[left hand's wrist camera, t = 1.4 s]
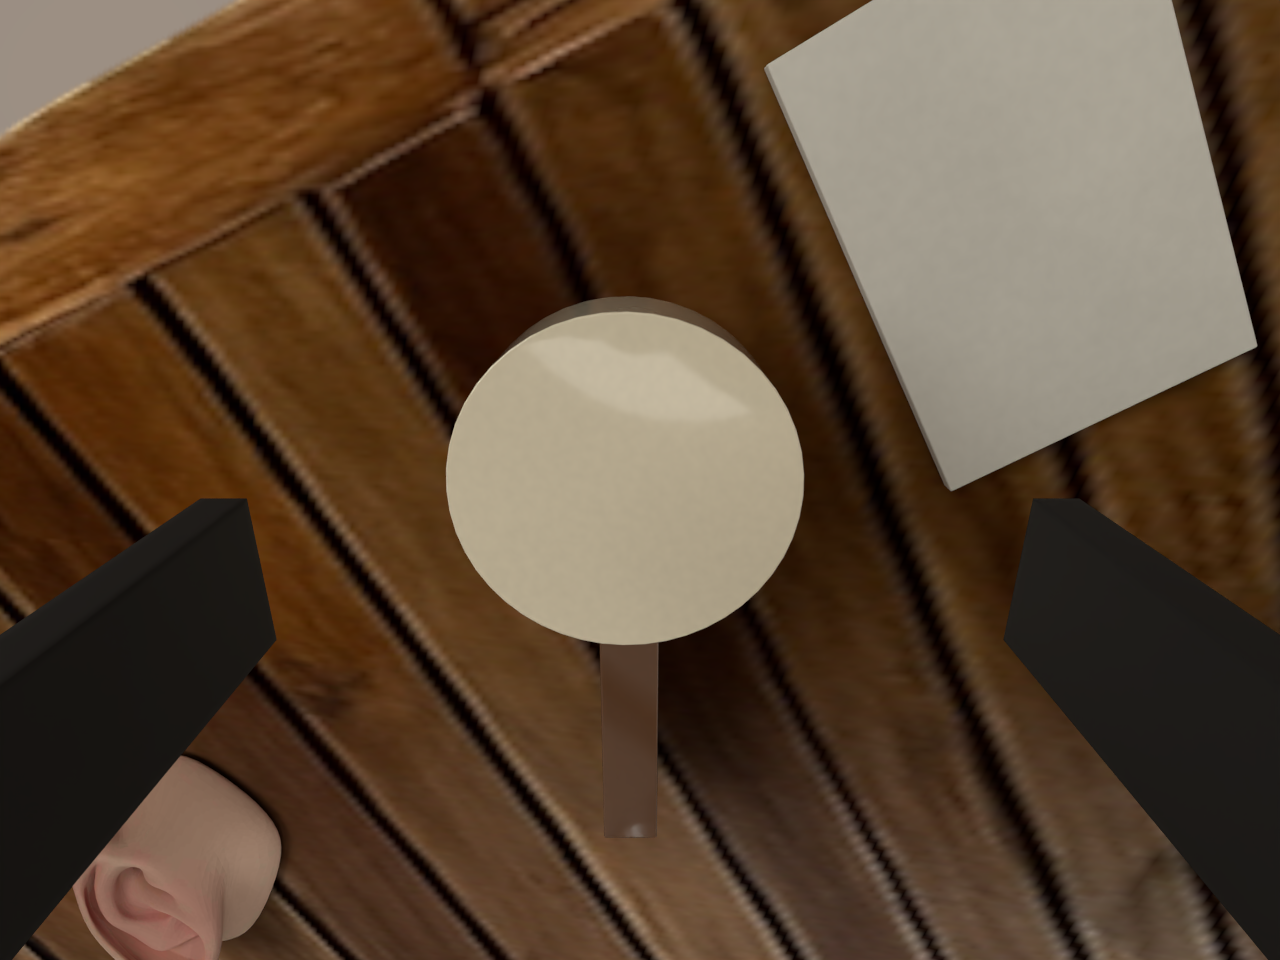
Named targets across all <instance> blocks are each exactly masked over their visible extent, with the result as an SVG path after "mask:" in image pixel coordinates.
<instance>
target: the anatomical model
mask: <svg viewBox="0 0 1280 960" xmlns="http://www.w3.org/2000/svg"><path fill="white" fill-rule="evenodd" d="M280 857H281V840H280V836H279V833H278V830H277V828H276V827H275V825H274V823H273V821H272V820H271V819H270V817H269V816H268V815H267V813H266V812H265V811H264V810H263V809H262V808H261V807H260V806H259V805H258V804H257V803H256V802H255V801H254V800H253V799H252V798H251V797H249V796H248V795H247V794H246V793H245V792H243V791H242V790H241V789H240V788H238V787H237V786H236V785H234V784H233V783H232V782H230V781H229V780H228V779H226V778H225V777H223V776H222V775H220V774H219V773H217V772H216V771H214V770H213V769H211V768H209V767H207V766H206V765H204V764H202V763H201V762H199V761H197V760H194V759H192V758H189V757H187V756H182V755H181V756H180V757H179V758H178V759H177V761H176V762H175V763H174V764H173V765H172V767H171V768H170V769H169V770H168V771H167V773H166V774H165V775H164V776H163V778H162V779H161V780H160V781H159V782H158V784H157V785H156V786H155V787H154V788H153V790H152V791H151V792H150V793H149V794H148V796H147V797H146V798H145V799H144V800H143V802H142V803H141V804H140V805H139V807H138V808H137V809H136V810H135V811H134V813H133V814H132V815H131V816H130V817H129V819H128V820H127V821H126V822H125V823H124V825H123V826H122V827H121V828H120V830H119V831H118V832H117V833H116V834H115V836H114V837H113V838H112V839H111V840H110V842H109V843H108V844H107V845H106V846H105V848H104V849H103V850H102V851H101V852H100V854H99V855H98V856H97V857H96V859H95V860H94V861H93V862H92V863H91V865H90V866H89V867H88V868H87V869H86V871H85V872H84V873H83V874H82V875H81V877H80V878H79V879H78V880H77V882H76V883H75V884H74V885H73V889H74V893H75V896H76V899H77V902H78V906H79V908H80V911H81V913H82V916H83V918H84V921H85V922H86V924H87V926H88V928H89V930H90V932H91V933H92V934H93V936H94V937H95V938H96V940H97V941H98V942H99V943H100V944H101V946H102V947H103V948H104V949H105V950H106V951H107V952H108V953H109V954H110V955H111V956H112V957H113V958H114V959H115V960H218V958H219V954H220V950H221V944H222V941H225V940H229V939H232V938H235V937H238V936H240V935H242V934H243V933H245V932H246V931H247V930H248V929H249V928H250V927H251V926H252V925H253V924H254V923H255V921H256V920H257V918H258V917H259V915H260V913H261V912H262V910H263V908H264V906H265V904H266V902H267V900H268V897H269V895H270V892H271V890H272V887H273V884H274V881H275V878H276V875H277V872H278V868H279V863H280Z"/></svg>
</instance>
